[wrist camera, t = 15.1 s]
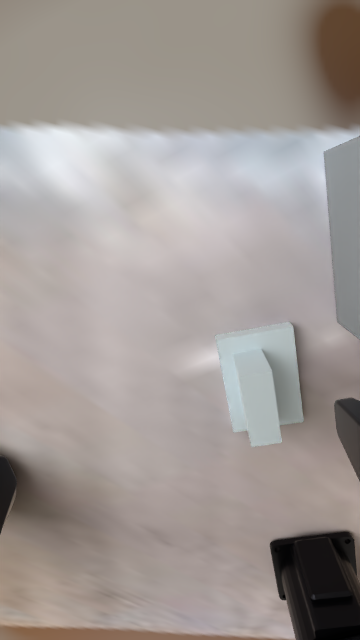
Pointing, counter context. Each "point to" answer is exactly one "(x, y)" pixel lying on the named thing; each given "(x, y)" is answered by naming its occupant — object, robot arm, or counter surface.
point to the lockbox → (345, 229)
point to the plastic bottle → (11, 505)
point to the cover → (261, 380)
